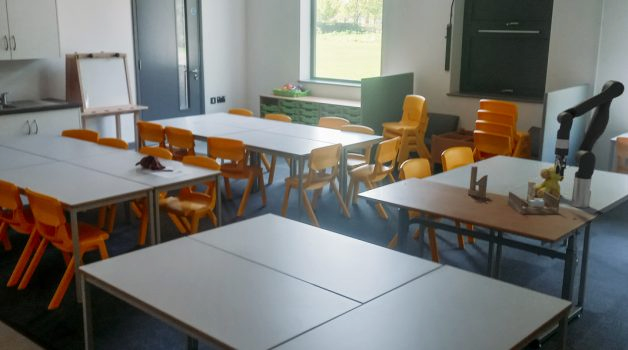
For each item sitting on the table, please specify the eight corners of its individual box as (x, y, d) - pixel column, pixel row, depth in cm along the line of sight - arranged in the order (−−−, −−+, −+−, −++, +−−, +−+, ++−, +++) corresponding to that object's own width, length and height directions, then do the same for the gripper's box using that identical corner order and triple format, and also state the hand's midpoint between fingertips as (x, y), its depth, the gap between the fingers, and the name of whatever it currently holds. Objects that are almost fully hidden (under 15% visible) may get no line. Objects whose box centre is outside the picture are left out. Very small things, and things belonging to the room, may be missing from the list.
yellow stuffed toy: (523, 192, 418) (526, 163, 414) (556, 191, 424) (559, 162, 419) (541, 201, 399) (545, 170, 394) (575, 199, 404) (579, 169, 400)
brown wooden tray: (543, 206, 385) (545, 191, 383) (557, 215, 368) (559, 199, 366) (507, 206, 383) (509, 191, 381) (520, 215, 366) (521, 199, 363)
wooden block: (482, 198, 400) (484, 169, 396) (467, 194, 408) (470, 166, 404) (485, 197, 402) (488, 168, 398) (471, 193, 410) (473, 165, 406)
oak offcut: (541, 210, 373) (541, 205, 372) (543, 211, 370) (544, 206, 370) (527, 210, 372) (528, 205, 372) (529, 211, 369) (530, 206, 369)
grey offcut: (541, 205, 372) (542, 199, 372) (544, 206, 370) (544, 201, 369) (528, 205, 372) (528, 199, 371) (530, 206, 369) (530, 201, 368)
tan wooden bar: (530, 206, 381) (532, 180, 378) (533, 208, 377) (535, 182, 374) (525, 206, 381) (528, 180, 377) (528, 208, 377) (531, 182, 374)
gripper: (572, 148, 373) (569, 177, 376) (565, 146, 387) (562, 173, 390) (558, 148, 374) (556, 176, 376) (552, 145, 388) (549, 172, 390)
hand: (559, 174), depth 383 cm, fingers open, 8 cm apart
